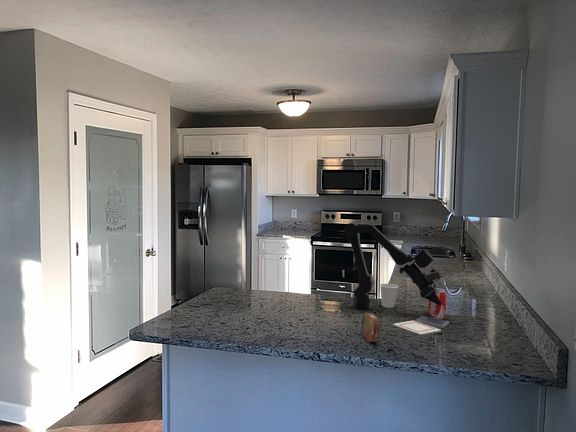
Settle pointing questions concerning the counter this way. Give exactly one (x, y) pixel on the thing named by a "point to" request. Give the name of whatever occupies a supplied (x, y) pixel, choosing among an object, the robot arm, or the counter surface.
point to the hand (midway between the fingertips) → (440, 303)
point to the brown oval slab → (370, 327)
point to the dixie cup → (388, 295)
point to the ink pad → (432, 322)
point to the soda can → (435, 309)
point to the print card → (417, 327)
